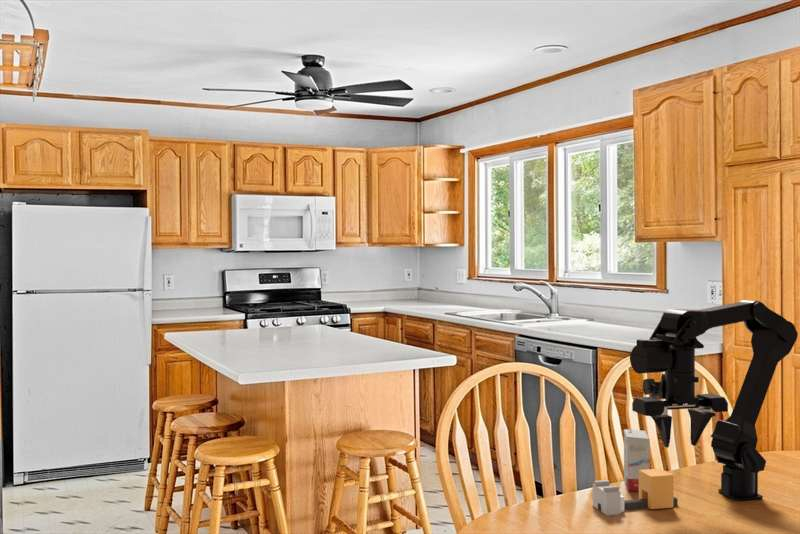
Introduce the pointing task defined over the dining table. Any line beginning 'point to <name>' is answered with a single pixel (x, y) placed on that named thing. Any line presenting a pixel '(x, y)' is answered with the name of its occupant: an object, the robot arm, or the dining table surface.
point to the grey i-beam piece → (607, 497)
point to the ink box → (635, 456)
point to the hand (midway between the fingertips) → (679, 446)
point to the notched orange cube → (656, 488)
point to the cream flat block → (622, 503)
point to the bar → (639, 503)
